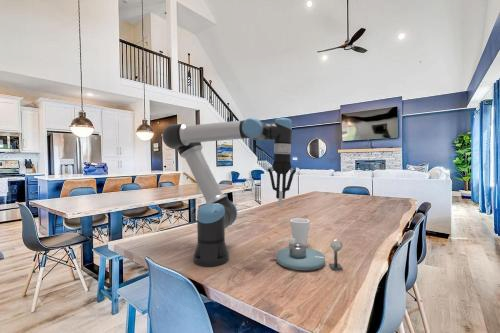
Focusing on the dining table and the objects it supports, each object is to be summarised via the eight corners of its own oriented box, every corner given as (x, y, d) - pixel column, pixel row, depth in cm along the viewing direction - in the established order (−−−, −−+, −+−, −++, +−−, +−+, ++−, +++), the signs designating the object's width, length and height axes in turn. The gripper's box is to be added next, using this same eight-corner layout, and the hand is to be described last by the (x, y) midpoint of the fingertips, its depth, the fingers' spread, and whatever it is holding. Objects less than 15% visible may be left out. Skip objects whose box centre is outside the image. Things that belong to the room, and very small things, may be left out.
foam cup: (286, 244, 131) (286, 219, 130) (302, 242, 134) (302, 217, 134) (296, 250, 122) (296, 223, 122) (313, 248, 125) (313, 221, 125)
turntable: (301, 274, 95) (301, 256, 95) (266, 257, 112) (266, 241, 111) (335, 262, 107) (335, 245, 106) (299, 248, 123) (299, 233, 123)
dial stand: (331, 270, 101) (331, 240, 100) (328, 265, 105) (328, 237, 104) (342, 270, 101) (343, 240, 100) (339, 266, 105) (339, 237, 104)
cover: (297, 260, 104) (297, 248, 103) (285, 255, 109) (285, 243, 109) (309, 256, 108) (309, 244, 107) (297, 251, 113) (297, 240, 113)
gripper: (268, 152, 112) (266, 206, 113) (298, 154, 112) (295, 208, 113) (267, 153, 119) (265, 203, 120) (295, 154, 119) (293, 204, 120)
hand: (280, 205), depth 117 cm, fingers closed
